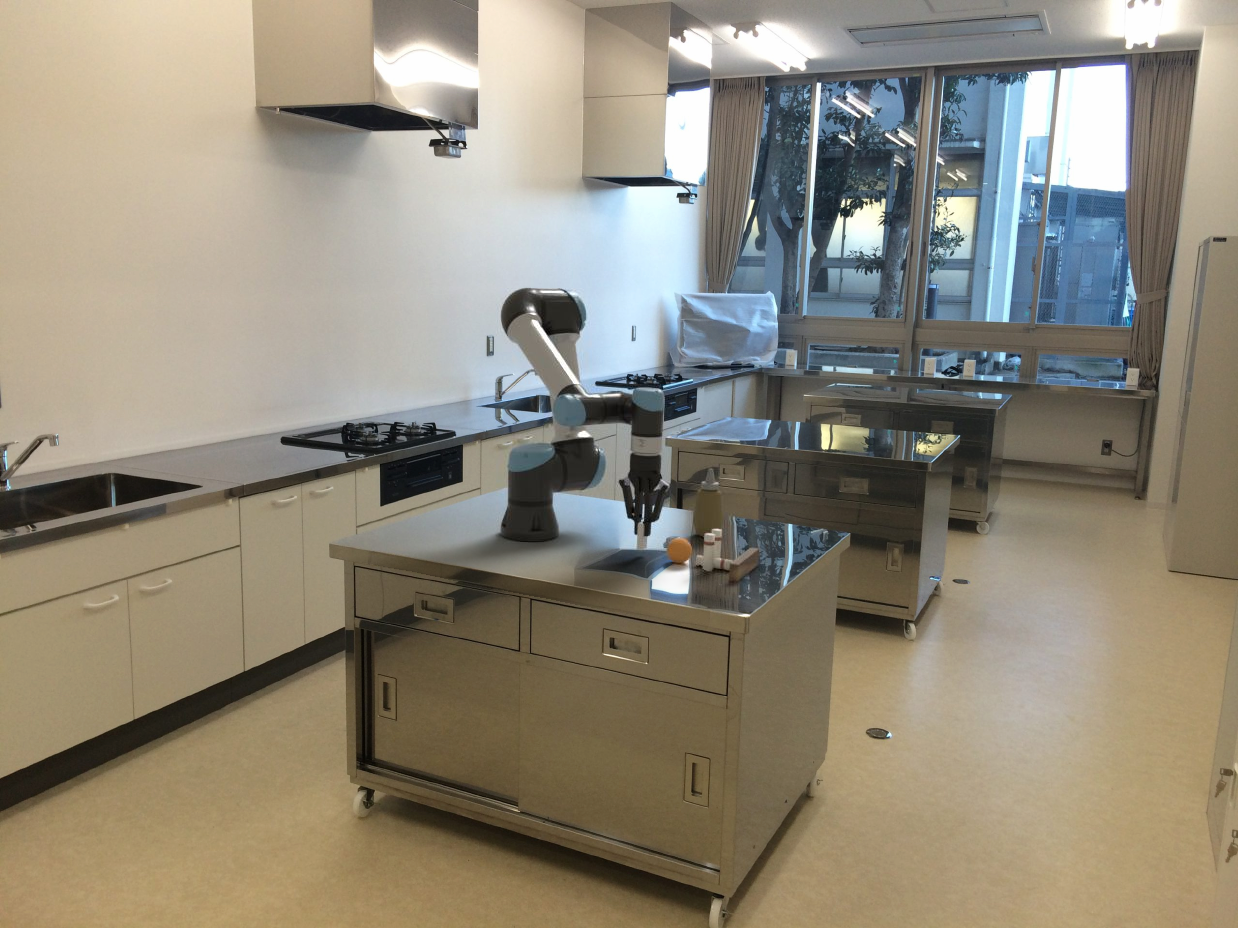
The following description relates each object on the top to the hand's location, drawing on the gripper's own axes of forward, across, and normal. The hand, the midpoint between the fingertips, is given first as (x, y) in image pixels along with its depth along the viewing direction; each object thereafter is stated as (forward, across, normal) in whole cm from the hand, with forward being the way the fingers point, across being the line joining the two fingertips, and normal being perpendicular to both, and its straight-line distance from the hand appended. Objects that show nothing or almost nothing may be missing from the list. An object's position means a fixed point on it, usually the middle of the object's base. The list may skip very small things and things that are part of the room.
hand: (641, 548), depth 238 cm
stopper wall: (+2, +26, 0) cm, 26 cm away
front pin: (+1, +14, 0) cm, 14 cm away
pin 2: (+2, +18, +2) cm, 18 cm away
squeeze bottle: (+2, +7, +28) cm, 29 cm away
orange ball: (-1, +10, -1) cm, 10 cm away
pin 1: (+2, +18, -2) cm, 18 cm away
